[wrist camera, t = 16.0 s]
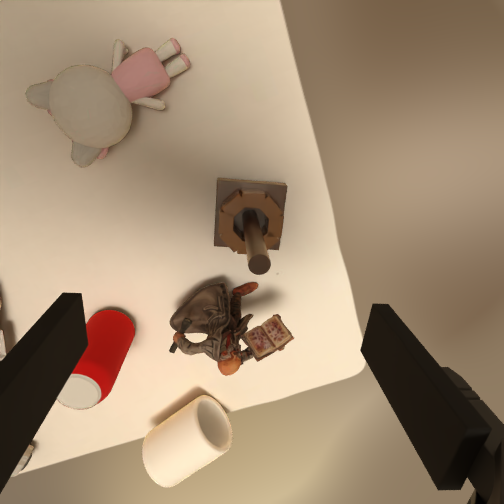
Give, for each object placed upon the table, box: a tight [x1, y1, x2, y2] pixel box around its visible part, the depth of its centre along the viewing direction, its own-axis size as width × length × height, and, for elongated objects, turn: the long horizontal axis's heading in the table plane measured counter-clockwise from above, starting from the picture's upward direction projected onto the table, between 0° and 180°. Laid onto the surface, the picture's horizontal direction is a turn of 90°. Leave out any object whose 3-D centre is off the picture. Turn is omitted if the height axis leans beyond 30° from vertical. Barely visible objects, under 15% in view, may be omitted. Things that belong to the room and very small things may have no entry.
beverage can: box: [57, 310, 135, 409], centre depth 39 cm, size 6×6×12 cm
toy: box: [25, 38, 190, 167], centre depth 32 cm, size 8×7×15 cm
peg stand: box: [214, 178, 287, 275], centre depth 33 cm, size 8×8×15 cm
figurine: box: [169, 282, 294, 376], centre depth 37 cm, size 14×7×15 cm, turn 80°
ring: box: [218, 187, 284, 254], centre depth 37 cm, size 7×7×3 cm
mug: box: [142, 395, 232, 487], centre depth 50 cm, size 8×10×12 cm
